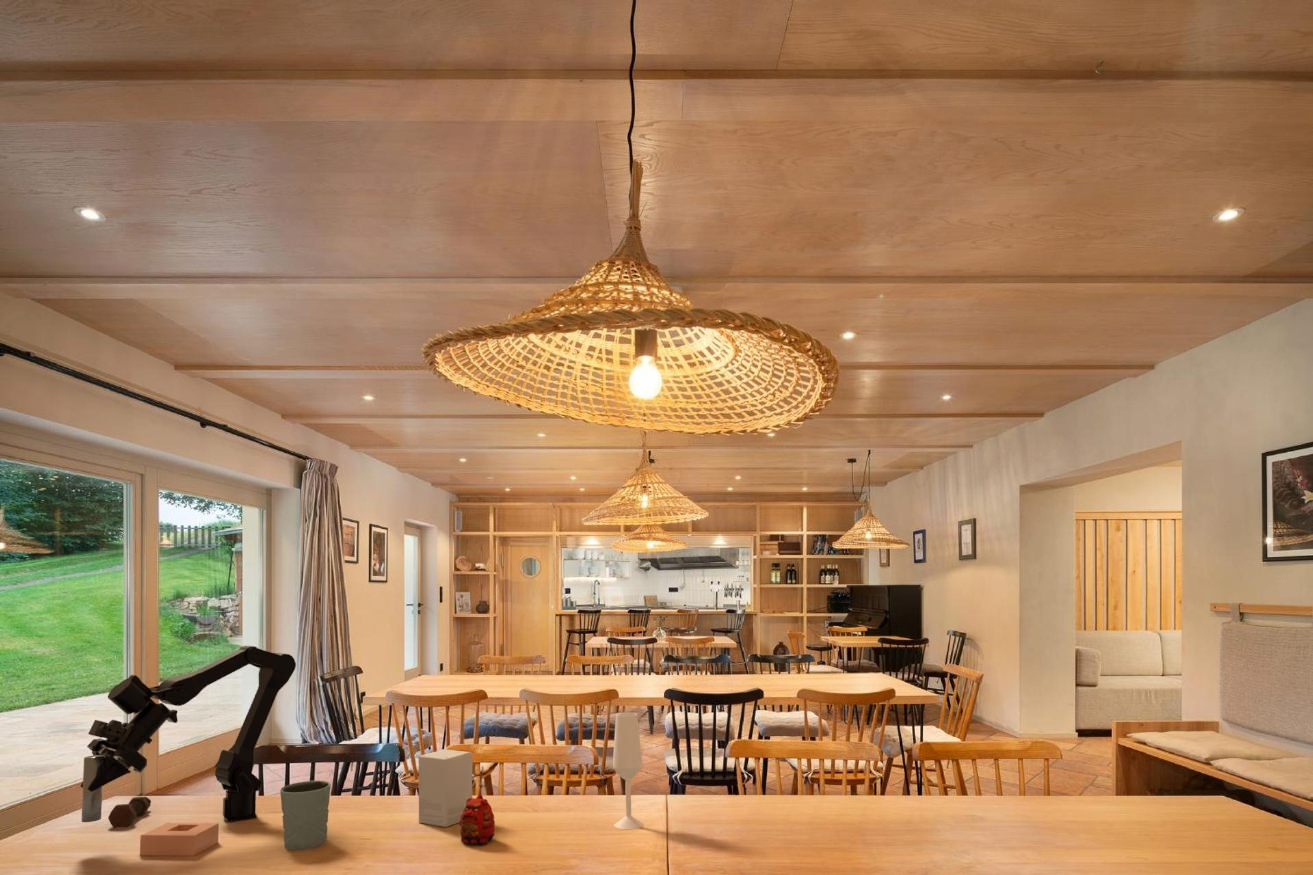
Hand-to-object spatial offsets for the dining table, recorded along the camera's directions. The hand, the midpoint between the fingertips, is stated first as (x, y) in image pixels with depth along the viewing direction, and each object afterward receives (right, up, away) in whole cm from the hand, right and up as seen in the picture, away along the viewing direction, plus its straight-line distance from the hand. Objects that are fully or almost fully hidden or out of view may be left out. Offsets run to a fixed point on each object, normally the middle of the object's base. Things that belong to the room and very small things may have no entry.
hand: (85, 788), depth 202 cm
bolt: (-4, -17, +26) cm, 31 cm away
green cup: (+46, -13, +2) cm, 48 cm away
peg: (+1, -7, 0) cm, 7 cm away
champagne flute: (+115, -12, +10) cm, 116 cm away
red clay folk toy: (+83, -11, 0) cm, 84 cm away
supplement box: (+73, -14, +17) cm, 76 cm away
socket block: (+20, -13, +1) cm, 24 cm away
